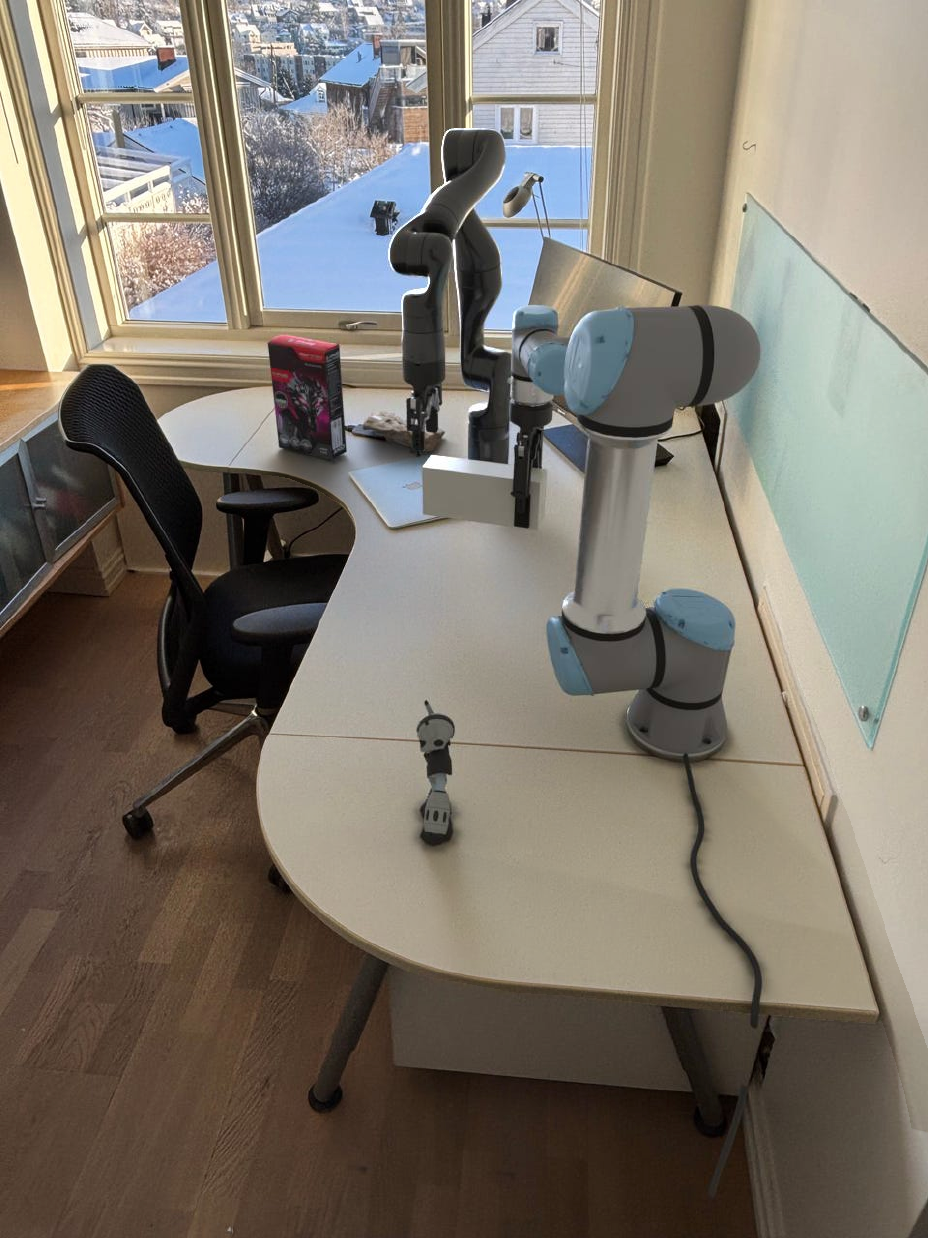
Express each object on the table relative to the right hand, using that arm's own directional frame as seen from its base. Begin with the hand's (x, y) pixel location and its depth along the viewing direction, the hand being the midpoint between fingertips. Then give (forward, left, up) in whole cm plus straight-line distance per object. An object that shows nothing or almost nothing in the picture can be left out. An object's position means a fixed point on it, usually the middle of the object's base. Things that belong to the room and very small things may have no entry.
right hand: (525, 518), depth 172 cm
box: (0, +8, -1) cm, 8 cm away
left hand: (0, +20, +13) cm, 23 cm away
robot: (-66, -2, -14) cm, 67 cm away
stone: (+58, +45, -14) cm, 75 cm away
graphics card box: (+46, +64, -14) cm, 80 cm away
